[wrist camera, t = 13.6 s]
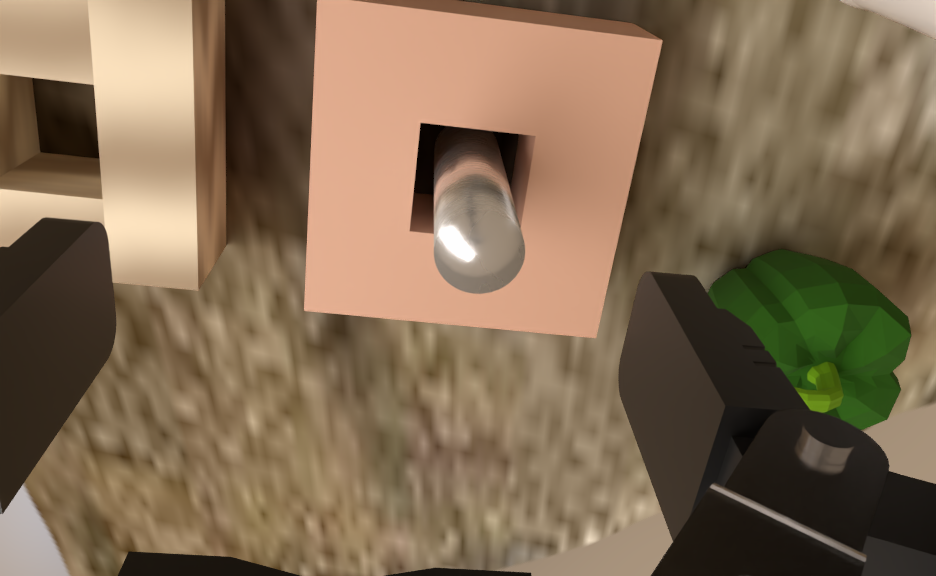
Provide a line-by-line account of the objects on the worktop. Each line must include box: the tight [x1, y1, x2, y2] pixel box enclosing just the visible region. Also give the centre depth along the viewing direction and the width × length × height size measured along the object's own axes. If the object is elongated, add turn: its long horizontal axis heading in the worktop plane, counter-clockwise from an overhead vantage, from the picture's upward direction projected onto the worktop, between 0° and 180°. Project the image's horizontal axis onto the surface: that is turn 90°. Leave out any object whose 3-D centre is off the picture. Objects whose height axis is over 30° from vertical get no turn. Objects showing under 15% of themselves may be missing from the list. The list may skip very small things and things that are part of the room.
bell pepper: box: [708, 249, 911, 430], centre depth 36 cm, size 8×8×10 cm
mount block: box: [0, 0, 226, 290], centre depth 33 cm, size 12×12×5 cm
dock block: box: [304, 0, 663, 338], centre depth 34 cm, size 13×13×5 cm
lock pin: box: [434, 126, 525, 294], centre depth 31 cm, size 3×3×12 cm
